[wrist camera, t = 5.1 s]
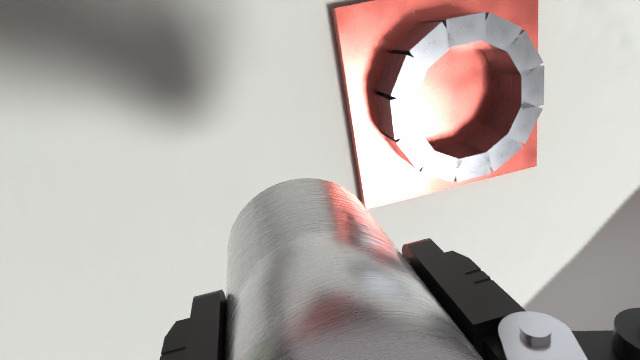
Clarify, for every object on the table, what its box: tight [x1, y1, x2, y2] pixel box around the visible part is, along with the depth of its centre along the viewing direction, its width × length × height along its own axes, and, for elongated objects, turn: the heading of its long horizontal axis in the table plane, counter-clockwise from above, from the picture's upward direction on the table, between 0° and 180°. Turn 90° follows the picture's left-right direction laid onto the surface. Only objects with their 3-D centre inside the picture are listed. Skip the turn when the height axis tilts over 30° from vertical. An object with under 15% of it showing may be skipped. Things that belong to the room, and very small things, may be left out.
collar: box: [332, 0, 544, 209], centre depth 28 cm, size 14×14×4 cm
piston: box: [225, 178, 483, 360], centre depth 9 cm, size 5×5×10 cm
